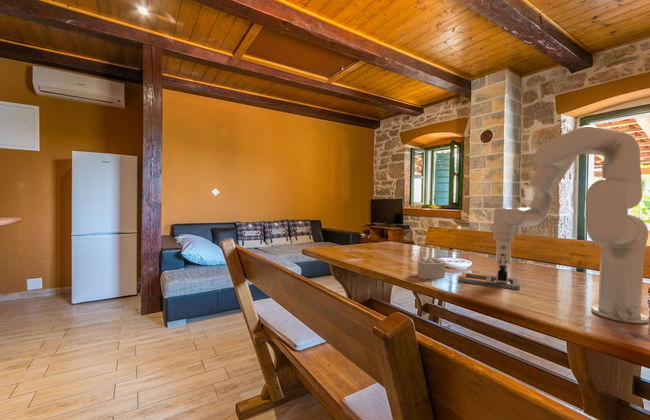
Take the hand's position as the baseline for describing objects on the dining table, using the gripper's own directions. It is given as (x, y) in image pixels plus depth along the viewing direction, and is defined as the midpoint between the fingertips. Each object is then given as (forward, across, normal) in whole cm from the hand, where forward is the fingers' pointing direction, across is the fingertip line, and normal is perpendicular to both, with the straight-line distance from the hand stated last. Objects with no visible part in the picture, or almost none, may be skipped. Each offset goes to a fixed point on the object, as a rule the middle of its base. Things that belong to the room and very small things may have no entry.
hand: (502, 278), depth 127 cm
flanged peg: (+2, 0, 0) cm, 2 cm away
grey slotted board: (+2, 0, +5) cm, 6 cm away
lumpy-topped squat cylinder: (+3, -4, +29) cm, 29 cm away
